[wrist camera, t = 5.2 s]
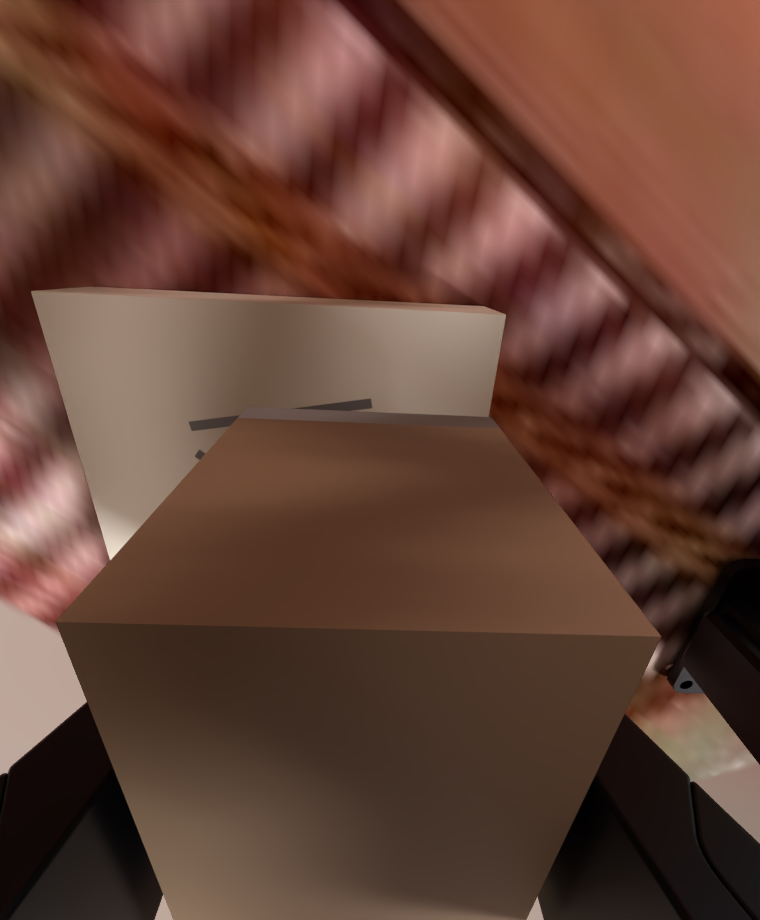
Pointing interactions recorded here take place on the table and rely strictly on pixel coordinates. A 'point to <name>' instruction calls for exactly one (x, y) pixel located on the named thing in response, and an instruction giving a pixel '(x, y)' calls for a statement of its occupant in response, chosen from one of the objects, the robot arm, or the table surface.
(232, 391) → the birch board
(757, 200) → the table surface
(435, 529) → the block
